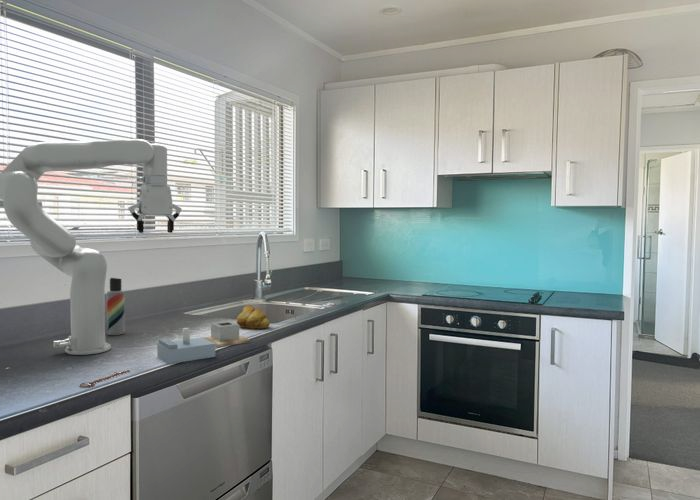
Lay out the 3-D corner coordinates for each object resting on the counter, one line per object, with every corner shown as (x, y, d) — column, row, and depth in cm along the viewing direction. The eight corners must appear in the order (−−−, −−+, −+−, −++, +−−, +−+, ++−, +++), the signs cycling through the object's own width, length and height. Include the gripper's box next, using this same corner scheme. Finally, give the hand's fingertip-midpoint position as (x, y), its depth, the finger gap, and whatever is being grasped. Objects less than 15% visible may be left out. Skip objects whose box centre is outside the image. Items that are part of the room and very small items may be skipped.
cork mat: (216, 347, 171) (216, 344, 171) (201, 340, 180) (201, 337, 180) (249, 342, 178) (249, 339, 178) (234, 335, 187) (234, 333, 187)
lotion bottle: (104, 333, 188) (103, 277, 187) (120, 331, 192) (120, 276, 191) (111, 336, 184) (110, 278, 183) (127, 333, 188) (127, 277, 187)
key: (118, 372, 144) (70, 387, 130) (118, 369, 144) (70, 384, 130) (134, 373, 142) (87, 389, 128) (134, 369, 142) (87, 385, 128)
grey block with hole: (219, 342, 174) (219, 327, 174) (211, 338, 180) (211, 323, 179) (239, 339, 178) (239, 324, 178) (230, 335, 184) (230, 321, 184)
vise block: (168, 363, 150) (168, 334, 150) (157, 356, 158) (157, 328, 158) (215, 356, 159) (215, 328, 158) (202, 349, 167) (202, 323, 166)
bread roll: (274, 327, 203) (274, 306, 203) (258, 332, 194) (258, 310, 194) (248, 323, 209) (248, 303, 209) (231, 328, 201) (231, 307, 200)
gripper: (131, 179, 169) (132, 233, 170) (184, 182, 180) (184, 232, 181) (125, 180, 175) (125, 232, 176) (177, 183, 186) (177, 232, 187)
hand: (155, 232), depth 179 cm, fingers open, 9 cm apart
